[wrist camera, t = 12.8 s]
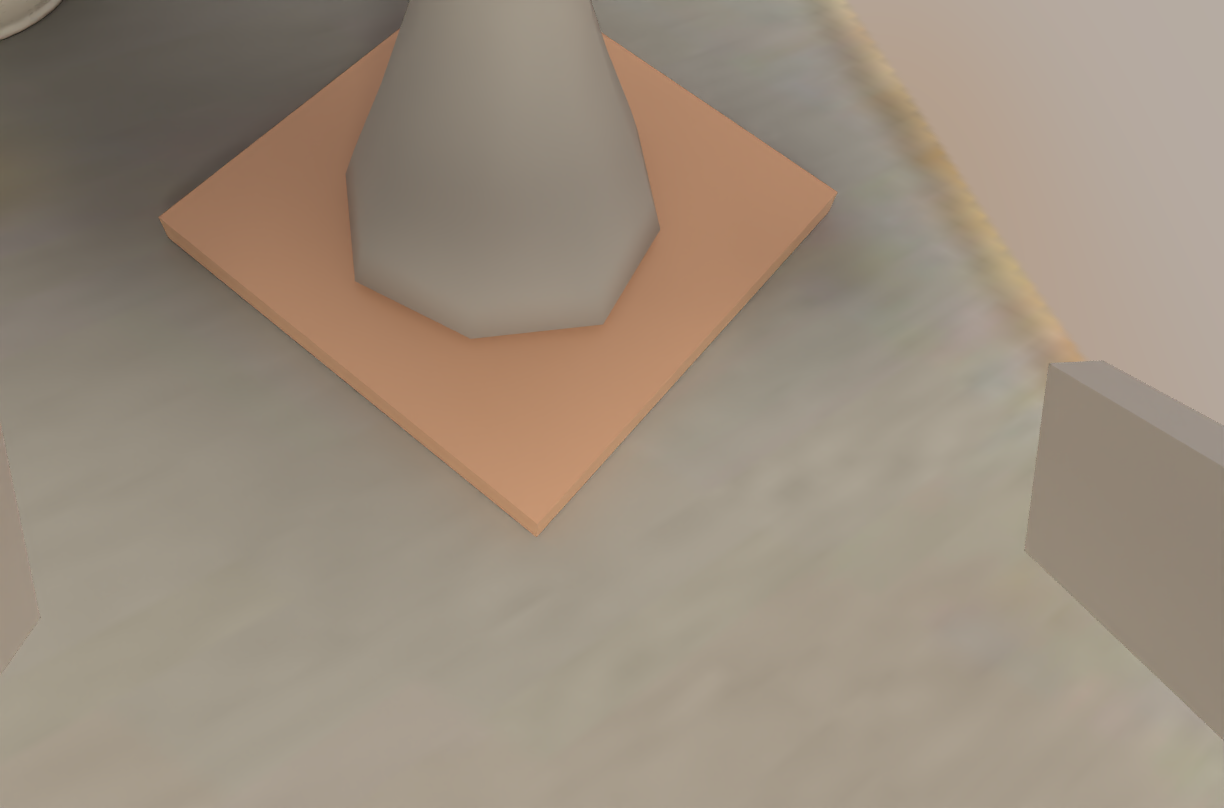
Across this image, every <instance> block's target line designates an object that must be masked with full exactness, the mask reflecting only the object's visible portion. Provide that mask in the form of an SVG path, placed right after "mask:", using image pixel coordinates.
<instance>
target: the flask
mask: <svg viewBox="0 0 1224 808" xmlns="http://www.w3.org/2000/svg"><path fill="white" fill-rule="evenodd" d="M346 185H347V196H348V208H349V219H350V230H351V241H352V253H353V264H354V275H355V281H356V282H358V283H360V284H362V285H364V286H366V287H368V288H370V289H372V290H374V291H376V292H378V293H380V294H382V295H384V296H386V297H388V298H390V299H392V300H394V301H396V302H398V303H400V304H402V305H404V306H406V307H408V308H410V309H412V310H414V311H416V312H418V313H420V314H422V315H424V316H426V317H428V318H430V319H432V320H434V321H436V322H438V323H440V324H442V325H444V326H446V327H448V328H450V329H452V330H454V331H456V332H458V333H460V334H462V335H464V336H466V337H468V338H470V339H474V338H483V337H492V336H502V335H511V334H520V333H529V332H538V331H548V330H557V329H566V328H575V327H584V326H594V325H603V324H604V322H605V320H606V319H607V317H608V315H609V314H610V312H611V310H612V309H613V307H614V305H615V304H616V302H617V300H618V299H619V297H620V295H621V294H622V292H623V290H624V289H625V287H626V286H627V284H628V282H629V281H630V279H631V277H632V276H633V274H634V272H635V271H636V269H637V267H638V266H639V264H640V262H641V261H642V259H643V257H644V256H645V254H646V252H647V251H648V249H649V247H650V246H651V244H652V242H653V241H654V239H655V237H656V236H657V234H658V232H659V231H660V226H659V221H658V217H657V213H656V208H655V204H654V200H653V195H652V191H651V187H650V182H649V178H648V173H647V169H646V165H645V160H644V156H643V152H642V147H641V143H640V138H639V134H638V130H637V127H636V124H635V121H634V118H633V115H632V112H631V109H630V106H629V104H628V101H627V99H626V96H625V94H624V91H623V89H622V86H621V84H620V81H619V79H618V76H617V74H616V71H615V69H614V66H613V64H612V61H611V59H610V56H609V54H608V51H607V48H606V45H605V42H604V39H603V36H602V33H601V30H600V26H599V23H598V20H597V17H596V14H595V11H594V8H593V5H592V2H591V0H410V1H409V4H408V7H407V10H406V13H405V16H404V19H403V21H402V24H401V27H400V30H399V33H398V36H397V39H396V42H395V45H394V48H393V51H392V53H391V56H390V59H389V62H388V65H387V68H386V71H385V74H384V77H383V80H382V83H381V85H380V88H379V90H378V92H377V95H376V97H375V100H374V102H373V105H372V107H371V109H370V112H369V114H368V117H367V119H366V122H365V124H364V127H363V129H362V131H361V134H360V136H359V139H358V141H357V144H356V146H355V149H354V151H353V154H352V157H351V160H350V163H349V166H348V168H347V171H346Z"/></svg>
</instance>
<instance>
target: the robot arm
mask: <svg viewBox="0 0 1224 808" xmlns="http://www.w3.org/2000/svg"><path fill="white" fill-rule="evenodd" d="M1024 551H1025V552H1026V553H1027V554H1028V555H1029V556H1030V557H1032V558H1033V559H1034V560H1035V561H1036V562H1037V563H1038V564H1039V565H1040V566H1041V567H1042V568H1043V569H1044V570H1045V571H1046V572H1047V573H1048V574H1049V575H1050V576H1051V577H1053V578H1054V579H1055V580H1056V581H1057V582H1058V583H1059V584H1060V585H1061V586H1062V587H1063V588H1064V589H1065V590H1066V591H1067V592H1068V593H1069V594H1070V595H1071V596H1072V597H1074V598H1075V599H1076V600H1077V601H1078V602H1079V603H1080V604H1081V605H1082V606H1083V607H1084V608H1085V609H1086V610H1087V611H1088V612H1089V613H1090V614H1091V615H1092V616H1093V617H1095V618H1096V619H1097V620H1098V621H1099V622H1100V623H1101V624H1102V625H1103V626H1104V627H1105V628H1106V629H1107V630H1108V631H1109V632H1110V633H1111V634H1112V635H1113V636H1114V637H1116V638H1117V639H1118V640H1119V641H1120V642H1121V643H1122V644H1123V645H1124V646H1125V647H1126V648H1127V649H1128V650H1129V651H1130V652H1131V653H1132V654H1133V655H1134V656H1135V657H1137V658H1138V659H1139V660H1140V661H1141V662H1142V663H1143V664H1144V665H1145V666H1146V667H1147V668H1148V669H1149V670H1150V671H1151V672H1152V673H1153V674H1154V675H1155V676H1156V677H1158V678H1159V679H1160V680H1161V681H1162V682H1163V683H1164V684H1165V685H1166V686H1167V687H1168V688H1169V689H1170V690H1171V691H1172V692H1173V693H1174V694H1175V695H1176V696H1177V697H1179V698H1180V699H1181V700H1182V701H1183V702H1184V703H1185V704H1186V705H1187V706H1188V707H1189V708H1190V709H1191V710H1192V711H1193V712H1194V713H1195V714H1196V715H1197V716H1198V717H1200V718H1201V719H1202V720H1203V721H1204V722H1205V723H1206V724H1207V725H1208V726H1209V727H1210V728H1211V729H1212V730H1213V731H1214V732H1215V733H1216V734H1217V735H1218V736H1219V737H1221V738H1222V739H1223V740H1224V426H1223V425H1221V424H1219V423H1218V422H1216V421H1214V420H1212V419H1210V418H1209V417H1207V416H1205V415H1203V414H1201V413H1199V412H1197V411H1195V410H1194V409H1192V408H1190V407H1188V406H1186V405H1184V404H1183V403H1181V402H1179V401H1177V400H1175V399H1173V398H1171V397H1170V396H1168V395H1166V394H1164V393H1162V392H1160V391H1158V390H1157V389H1155V388H1153V387H1151V386H1149V385H1147V384H1146V383H1144V382H1142V381H1140V380H1138V379H1136V378H1134V377H1133V376H1131V375H1129V374H1127V373H1125V372H1123V371H1121V370H1120V369H1118V368H1116V367H1114V366H1112V365H1110V364H1108V363H1107V362H1105V361H1085V362H1064V363H1049V366H1048V374H1047V381H1046V389H1045V396H1044V404H1043V412H1042V419H1041V427H1040V435H1039V442H1038V450H1037V457H1036V465H1035V473H1034V480H1033V488H1032V496H1031V503H1030V511H1029V518H1028V526H1027V534H1026V541H1025V549H1024ZM39 619H40V613H39V608H38V604H37V599H36V594H35V589H34V584H33V579H32V574H31V569H30V564H29V559H28V554H27V550H26V545H25V540H24V535H23V530H22V525H21V520H20V515H19V510H18V505H17V501H16V496H15V491H14V486H13V481H12V476H11V471H10V466H9V461H8V456H7V452H6V447H5V442H4V437H3V432H2V427H1V422H0V675H1V674H2V673H3V671H4V670H5V668H6V667H7V665H8V664H9V663H10V661H11V660H12V658H13V657H14V655H15V654H16V652H17V651H18V650H19V648H20V647H21V645H22V644H23V642H24V641H25V639H26V638H27V637H28V635H29V634H30V632H31V631H32V629H33V628H34V626H35V625H36V624H37V622H38V621H39Z"/></svg>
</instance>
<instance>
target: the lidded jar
mask: <svg viewBox="0 0 1224 808" xmlns="http://www.w3.org/2000/svg"><path fill="white" fill-rule="evenodd" d="M62 1H63V0H0V40H3V39H6V38H8V37H10V36H13V35H15V34H17V33H19V32H21V31H24V30H25V29H27V28H29V27H30V26H32V25H34V24H35V23H37V22H39V21H40V20H42V19H43V18H44V17H45V16H47V15H48V14H49V13H50V12H52V11H53V10H54V9H55V8H56V7H57V6H58V5H59V4H60V3H61V2H62Z"/></svg>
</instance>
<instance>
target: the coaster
mask: <svg viewBox="0 0 1224 808" xmlns="http://www.w3.org/2000/svg"><path fill="white" fill-rule="evenodd" d="M399 30H400V29H398V30H397V31H396V32H395V33H393V34H392V35H391V36H389V37H388V38H387V39H386V40H384V41H383V42H382V43H380V44H379V45H378V46H377V47H375V48H374V49H373V50H372V51H370V52H369V53H368V54H366V55H365V56H364V57H363V58H361V59H360V60H359V61H357V62H356V63H355V64H354V65H352V66H351V67H350V68H349V69H347V70H346V71H345V72H343V73H342V74H341V75H340V76H338V77H337V78H336V79H334V80H333V81H332V82H331V83H329V84H328V85H327V86H326V87H324V88H323V89H322V90H320V91H319V92H318V93H317V94H315V95H314V96H313V97H311V98H310V99H309V100H308V101H306V102H305V103H304V104H302V105H301V106H300V107H299V108H297V109H296V110H295V111H294V112H292V113H291V114H290V115H288V116H287V117H286V118H285V119H283V120H282V121H281V122H279V123H278V124H277V125H276V126H274V127H273V128H272V129H271V130H269V131H268V132H267V133H265V134H264V135H263V136H262V137H260V138H259V139H258V140H256V141H255V142H254V143H253V144H251V145H250V146H249V147H248V148H246V149H245V150H244V151H242V152H241V153H240V154H239V155H237V156H236V157H235V158H233V159H232V160H231V161H230V162H228V163H227V164H226V165H224V166H223V167H222V168H221V169H219V170H218V171H217V172H216V173H214V174H213V175H212V176H210V177H209V178H208V179H207V180H205V181H204V182H203V183H201V184H200V185H199V186H198V187H196V188H195V189H194V190H193V191H191V192H190V193H189V194H187V195H186V196H185V197H184V198H182V199H181V200H180V201H178V202H177V203H176V204H175V205H173V206H172V207H171V208H170V209H168V210H167V211H166V212H164V213H163V214H162V215H161V216H159V219H160V221H161V223H162V225H163V227H164V230H165V232H166V234H167V236H168V238H169V239H171V240H172V241H173V242H174V243H176V244H177V245H178V246H179V247H181V248H182V249H183V250H184V251H185V252H187V253H188V254H189V255H190V256H192V257H193V258H194V259H195V260H197V261H198V262H199V263H200V264H201V265H203V266H204V267H205V268H206V269H208V270H209V271H210V272H211V273H212V274H214V275H215V276H216V277H217V278H219V279H220V280H221V281H222V282H224V283H225V284H226V285H227V286H228V287H230V288H231V289H232V290H233V291H235V292H236V293H237V294H238V295H240V296H241V297H242V298H243V299H244V300H246V301H247V302H248V303H249V304H251V305H252V306H253V307H254V308H256V309H257V310H258V311H259V312H260V313H262V314H263V315H264V316H265V317H267V318H268V319H269V320H270V321H271V322H273V323H274V324H275V325H276V326H278V327H279V328H280V329H281V330H283V331H284V332H285V333H286V334H287V335H289V336H290V337H291V338H292V339H294V340H295V341H296V342H297V343H299V344H300V345H301V346H302V347H303V348H305V349H306V350H307V351H308V352H310V353H311V354H312V355H313V356H315V357H316V358H317V359H318V360H319V361H321V362H322V363H323V364H324V365H326V366H327V367H328V368H329V369H330V370H332V371H333V372H334V373H335V374H337V375H338V376H339V377H340V378H342V379H343V380H344V381H345V382H346V383H348V384H349V385H350V386H351V387H353V388H354V389H355V390H356V391H358V392H359V393H360V394H361V395H362V396H364V397H365V398H366V399H367V400H369V401H370V402H371V403H372V404H373V405H375V406H376V407H377V408H378V409H380V410H381V411H382V412H383V413H385V414H386V415H387V416H388V417H389V418H391V419H392V420H393V421H394V422H396V423H397V424H398V425H399V426H401V427H402V428H403V429H404V430H405V431H407V432H408V433H409V434H410V435H412V436H413V437H414V438H415V439H417V440H418V441H419V442H420V443H421V444H423V445H424V446H425V447H426V448H428V449H429V450H430V451H431V452H432V453H434V454H435V455H436V456H437V457H439V458H440V459H441V460H442V461H444V462H445V463H446V464H447V465H448V466H450V467H451V468H452V469H453V470H455V471H456V472H457V473H458V474H460V475H461V476H462V477H463V478H464V479H466V480H467V481H468V482H469V483H471V484H472V485H473V486H474V487H476V488H477V489H478V490H479V491H480V492H482V493H483V494H484V495H485V496H487V497H488V498H489V499H490V500H491V501H493V502H494V503H495V504H496V505H498V506H499V507H500V508H501V509H503V510H504V511H505V512H506V513H507V514H509V515H510V516H511V517H512V518H514V519H515V520H516V521H517V522H519V523H520V524H521V525H522V526H523V527H525V528H526V529H527V530H528V531H530V532H531V533H532V534H533V535H534V536H536V537H537V536H538V535H539V534H540V533H541V532H542V531H543V529H544V528H545V527H546V526H547V525H548V524H549V523H550V522H551V521H552V519H553V518H554V517H555V516H556V515H557V514H558V513H559V512H560V511H561V509H562V508H563V507H564V506H565V505H566V504H567V503H568V502H569V500H570V499H571V498H572V497H573V496H574V495H575V494H576V493H577V492H578V490H579V489H580V488H581V487H582V486H583V485H584V484H585V483H586V482H587V480H588V479H589V478H590V477H591V476H592V475H593V474H594V473H595V472H596V470H597V469H598V468H599V467H600V466H601V465H602V464H603V463H604V462H605V460H606V459H607V458H608V457H609V456H610V455H611V454H612V453H613V452H614V450H615V449H616V448H617V447H618V446H619V445H620V444H621V443H622V441H623V440H624V439H625V438H626V437H627V436H628V435H629V434H630V433H631V431H632V430H633V429H634V428H635V427H636V426H637V425H638V424H639V423H640V421H641V420H642V419H643V418H644V417H645V416H646V415H647V414H648V413H649V411H650V410H651V409H652V408H653V407H654V406H655V405H656V404H657V403H658V401H659V400H660V399H661V398H662V397H663V396H664V395H665V394H666V393H667V391H668V390H669V389H670V388H671V387H672V386H673V385H674V384H675V383H676V381H677V380H678V379H679V378H680V377H681V376H682V375H683V374H684V372H685V371H686V370H687V369H688V368H689V367H690V366H691V365H692V364H693V362H694V361H695V360H696V359H697V358H698V357H699V356H700V355H701V354H702V352H703V351H704V350H705V349H706V348H707V347H708V346H709V345H710V344H711V342H712V341H713V340H714V339H715V338H716V337H717V336H718V335H719V334H720V332H721V331H722V330H723V329H724V328H725V327H726V326H727V325H728V324H729V322H730V321H731V320H732V319H733V318H734V317H735V316H736V315H737V313H738V312H739V311H740V310H741V309H742V308H743V307H744V306H745V305H746V303H747V302H748V301H749V300H750V299H751V298H752V297H753V296H754V295H755V293H756V292H757V291H758V290H759V289H760V288H761V287H762V286H763V285H764V283H765V282H766V281H767V280H768V279H769V278H770V277H771V276H772V275H773V273H774V272H775V271H776V270H777V269H778V268H779V267H780V266H781V265H782V263H783V262H784V261H785V260H786V259H787V258H788V257H789V256H790V254H791V253H792V252H793V251H794V250H795V249H796V248H797V247H798V246H799V244H800V243H801V242H802V241H803V240H804V239H805V238H806V237H807V236H808V234H809V233H810V232H811V231H812V230H813V229H814V228H815V227H816V226H817V224H818V223H819V222H820V221H821V220H822V219H823V218H824V217H825V216H826V214H827V213H828V212H829V210H830V208H831V206H832V204H833V201H834V199H835V197H836V195H837V191H835V190H834V189H832V188H831V187H829V186H828V185H826V184H825V183H823V182H822V181H820V180H819V179H817V178H816V177H814V176H813V175H812V174H810V173H809V172H807V171H806V170H804V169H803V168H801V167H800V166H798V165H797V164H795V163H794V162H792V161H791V160H789V159H788V158H786V157H785V156H783V155H782V154H780V153H779V152H777V151H776V150H775V149H773V148H772V147H770V146H769V145H767V144H766V143H764V142H763V141H761V140H760V139H758V138H757V137H755V136H754V135H752V134H751V133H749V132H748V131H746V130H745V129H743V128H742V127H741V126H739V125H738V124H736V123H735V122H733V121H732V120H730V119H729V118H727V117H726V116H724V115H723V114H721V113H720V112H718V111H717V110H715V109H714V108H712V107H711V106H709V105H708V104H706V103H705V102H704V101H702V100H701V99H699V98H698V97H696V96H695V95H693V94H692V93H690V92H689V91H687V90H686V89H684V88H683V87H681V86H680V85H678V84H677V83H675V82H674V81H672V80H671V79H670V78H668V77H667V76H665V75H664V74H662V73H661V72H659V71H658V70H656V69H655V68H653V67H652V66H650V65H649V64H647V63H646V62H644V61H643V60H641V59H640V58H638V57H637V56H635V55H634V54H633V53H631V52H630V51H628V50H627V49H625V48H624V47H622V46H621V45H619V44H618V43H616V42H615V41H613V40H612V39H610V38H609V37H607V36H606V35H604V34H603V33H602V36H603V39H604V42H605V45H606V48H607V51H608V54H609V56H610V59H611V61H612V64H613V66H614V69H615V71H616V74H617V76H618V79H619V81H620V84H621V86H622V89H623V91H624V94H625V96H626V99H627V101H628V104H629V106H630V109H631V112H632V115H633V118H634V121H635V124H636V127H637V130H638V134H639V138H640V143H641V147H642V152H643V156H644V160H645V165H646V169H647V173H648V178H649V182H650V187H651V191H652V195H653V200H654V204H655V208H656V213H657V217H658V221H659V226H660V231H659V232H658V234H657V236H656V237H655V239H654V241H653V242H652V244H651V246H650V247H649V249H648V251H647V252H646V254H645V256H644V257H643V259H642V261H641V262H640V264H639V266H638V267H637V269H636V271H635V272H634V274H633V276H632V277H631V279H630V281H629V282H628V284H627V286H626V287H625V289H624V290H623V292H622V294H621V295H620V297H619V299H618V300H617V302H616V304H615V305H614V307H613V309H612V310H611V312H610V314H609V315H608V317H607V319H606V320H605V322H604V324H603V325H594V326H584V327H575V328H566V329H557V330H548V331H538V332H529V333H520V334H511V335H502V336H492V337H483V338H474V339H470V338H468V337H466V336H464V335H462V334H460V333H458V332H456V331H454V330H452V329H450V328H448V327H446V326H444V325H442V324H440V323H438V322H436V321H434V320H432V319H430V318H428V317H426V316H424V315H422V314H420V313H418V312H416V311H414V310H412V309H410V308H408V307H406V306H404V305H402V304H400V303H398V302H396V301H394V300H392V299H390V298H388V297H386V296H384V295H382V294H380V293H378V292H376V291H374V290H372V289H370V288H368V287H366V286H364V285H362V284H360V283H358V282H356V281H355V275H354V264H353V253H352V241H351V230H350V219H349V208H348V196H347V185H346V171H347V168H348V166H349V163H350V160H351V157H352V154H353V151H354V149H355V146H356V144H357V141H358V139H359V136H360V134H361V131H362V129H363V127H364V124H365V122H366V119H367V117H368V114H369V112H370V109H371V107H372V105H373V102H374V100H375V97H376V95H377V92H378V90H379V88H380V85H381V83H382V80H383V77H384V74H385V71H386V68H387V65H388V62H389V59H390V56H391V53H392V51H393V48H394V45H395V42H396V39H397V36H398V33H399Z"/></svg>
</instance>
